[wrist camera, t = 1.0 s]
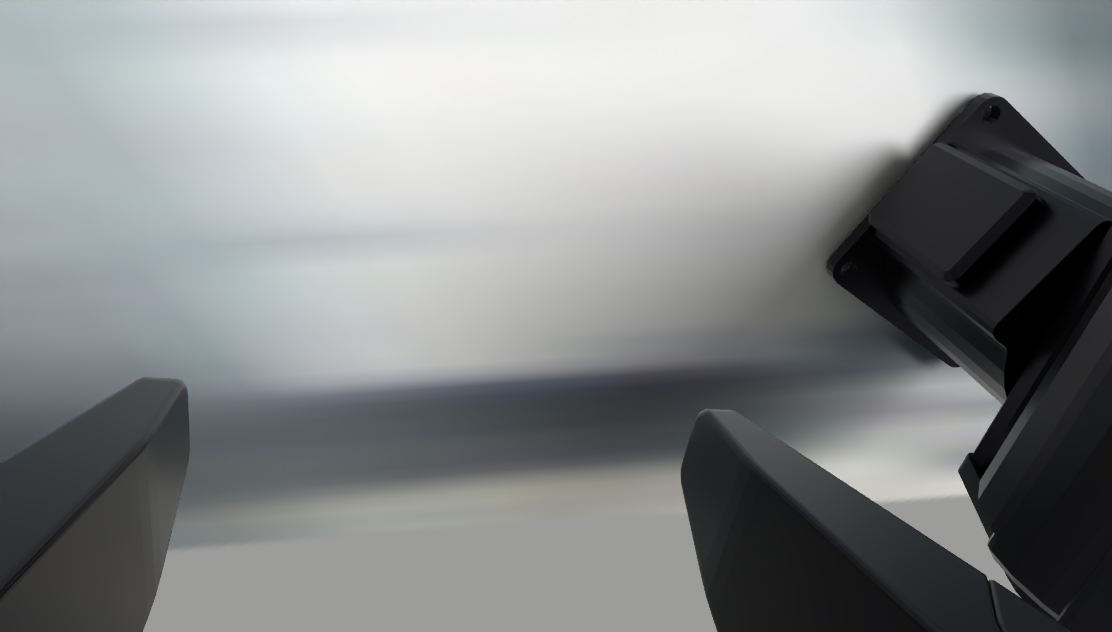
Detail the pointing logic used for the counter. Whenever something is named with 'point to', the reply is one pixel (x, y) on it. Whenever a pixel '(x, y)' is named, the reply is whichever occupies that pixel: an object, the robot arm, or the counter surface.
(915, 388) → the counter surface
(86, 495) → the robot arm
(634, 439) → the counter surface
